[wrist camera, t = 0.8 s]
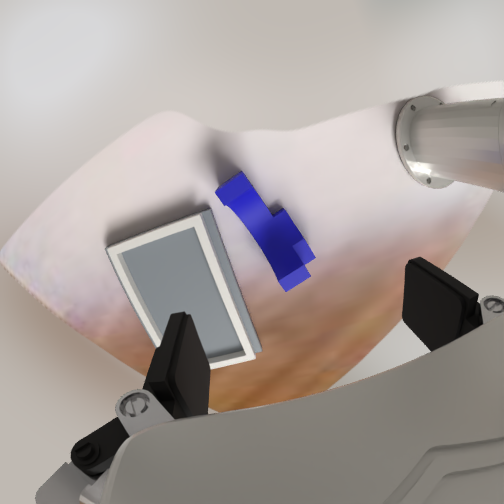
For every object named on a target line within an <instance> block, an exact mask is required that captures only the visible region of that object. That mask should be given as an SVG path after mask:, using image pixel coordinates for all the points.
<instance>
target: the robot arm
mask: <svg viewBox="0 0 504 504" xmlns="http://www.w3.org/2000/svg"><path fill="white" fill-rule="evenodd" d="M396 141H397V146H398V151H399V154H400V157H401V160H402V162H403V164H404V166H405V168H406V169H407V171H408V172H409V174H410V175H411V176H412V177H413V178H414V179H415V180H416V181H417V182H419V183H420V184H422V185H424V186H426V187H429V188H434V189H441V188H445V187H447V186H449V185H450V184H452V183H453V182H454V181H458V182H463V183H468V184H472V185H476V186H480V187H485V188H489V189H492V190H497V191H500V192H504V98H494V99H483V100H473V101H465V102H457V103H450V104H445V103H444V102H442V101H440V100H439V99H437V98H434V97H431V96H421V97H417V98H414V99H412V100H410V101H409V102H407V103H406V104H405V106H404V107H403V108H402V110H401V112H400V114H399V117H398V121H397V127H396ZM478 296H479V294H478V293H476V292H475V291H473V290H472V289H470V288H469V287H467V286H466V285H464V284H463V283H461V282H460V281H458V280H457V279H455V278H454V277H452V276H451V275H449V274H448V273H446V272H444V271H443V270H441V269H440V268H438V267H436V266H435V265H433V264H432V263H430V262H428V261H427V260H425V259H423V258H422V257H418V258H414V259H411V260H409V261H408V264H406V266H405V284H404V299H403V311H402V318H403V321H404V323H406V325H407V326H408V327H409V328H410V329H411V330H412V331H413V332H414V333H415V334H416V335H417V337H418V338H419V339H420V340H421V341H422V342H423V343H424V344H425V345H426V346H427V347H428V349H429V350H430V351H431V352H430V353H427V354H425V355H423V356H421V357H419V358H416V359H414V360H412V361H409V362H407V363H404V364H402V365H400V366H397V367H395V368H392V369H390V370H387V371H384V372H382V373H379V374H376V375H374V376H371V377H368V378H365V379H362V380H359V381H356V382H353V383H350V384H347V385H344V386H341V387H337V388H334V389H330V390H327V391H323V392H320V393H316V394H312V395H308V396H305V397H300V398H296V399H292V400H288V401H283V402H278V403H274V404H269V405H263V406H258V407H252V408H246V409H240V410H233V411H227V412H221V413H214V414H208V402H209V386H210V365H209V362H208V359H207V357H206V354H205V351H204V349H203V346H202V343H201V341H200V338H199V335H198V333H197V330H196V327H195V324H194V321H193V319H192V316H191V314H186V312H185V311H184V312H178V313H172V314H171V315H170V318H169V320H168V323H167V326H166V329H165V332H164V335H163V338H162V341H161V344H160V347H157V348H156V350H155V353H154V356H153V358H152V361H151V364H150V367H149V370H148V373H147V376H146V380H145V383H144V386H143V389H137V390H132V391H130V392H127V393H126V394H124V395H123V396H122V397H121V398H120V399H119V400H118V402H117V404H116V407H115V411H116V414H117V416H118V417H116V418H115V419H113V420H112V421H110V422H108V423H107V424H105V425H104V426H102V427H101V428H99V429H97V430H96V431H94V432H92V433H91V434H89V435H88V436H86V437H84V438H83V439H81V440H79V441H78V442H77V443H76V444H75V445H74V447H73V448H72V451H71V460H72V461H71V462H70V463H69V464H68V463H66V462H65V463H64V464H63V465H62V466H61V467H60V468H59V469H58V470H57V471H56V472H55V473H54V474H53V475H52V476H51V477H50V478H49V479H48V480H47V481H46V482H45V483H44V484H43V485H42V486H41V487H40V488H39V490H38V491H37V493H36V497H35V499H36V504H504V299H502V298H500V297H498V296H486V297H484V298H483V299H482V300H481V301H480V304H479V303H478V302H477V300H478Z"/></svg>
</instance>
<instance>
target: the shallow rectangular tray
mask: <svg viewBox="0 0 504 504" xmlns="http://www.w3.org/2000/svg"><path fill="white" fill-rule="evenodd" d="M105 251H106V253H107V255H108V257H109V260H110V262H111V264H112V266H113V268H114V271H115V273H116V275H117V277H118V279H119V281H120V283H121V285H122V287H123V289H124V291H125V293H126V295H127V297H128V299H129V301H130V303H131V305H132V307H133V309H134V311H135V312H136V314H137V316H138V318H139V320H140V322H141V323H142V325H143V327H144V329H145V330H146V332H147V334H148V336H149V337H150V339H151V341H152V342H153V344H154V346H155V347H156V348H157V347H160V344H161V341H162V338H163V335H164V332H165V329H166V326H167V323H168V320H169V318H170V315H171V314H172V313H178V312H184V311H185V312H186V314H191V316H192V319H193V321H194V324H195V327H196V330H197V333H198V335H199V338H200V341H201V343H202V346H203V349H204V351H205V354H206V357H207V359H208V362H209V365H210V369H214V368H219V367H223V366H228V365H232V364H236V363H241V362H245V361H249V360H253V359H256V355H255V353H257V352H261V351H262V346H261V343H260V341H259V338H258V335H257V333H256V330H255V328H254V325H253V322H252V320H251V317H250V314H249V312H248V309H247V307H246V304H245V301H244V298H243V296H242V293H241V290H240V288H239V285H238V282H237V280H236V277H235V274H234V271H233V269H232V266H231V263H230V260H229V258H228V255H227V252H226V249H225V247H224V244H223V241H222V238H221V235H220V232H219V230H218V227H217V224H216V221H215V218H214V215H213V213H212V210H211V208H209V209H207V210H204V211H201V212H198V213H195V214H192V215H189V216H186V217H183V218H181V219H178V220H175V221H172V222H169V223H167V224H164V225H161V226H158V227H156V228H153V229H150V230H148V231H145V232H142V233H140V234H137V235H135V236H132V237H130V238H127V239H124V240H122V241H119V242H117V243H114V244H112V245H109V246H107V247H106V248H105Z"/></svg>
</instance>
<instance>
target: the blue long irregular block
mask: <svg viewBox="0 0 504 504" xmlns="http://www.w3.org/2000/svg"><path fill="white" fill-rule="evenodd" d="M215 193H216V195H217V196H218V198H219V199H220V200H221V202H222V203H223V205H224V206H225V205H227V206H228V207H230V208H231V209H232V210H233V211H234V212H235V214H236V215H237V216H238V217H239V218H240V219H241V221H242V222H243V223H244V225H245V226H246V227H247V229H248V230H249V231H250V233H251V234H252V236H253V237H254V239H255V240H256V242H257V243H258V245H259V246H260V248H261V249H262V251H263V253H264V254H265V256H266V258H267V260H268V261H269V263H270V265H271V267H272V269H273V271H274V273H275V275H276V277H277V280H278V282H279V283H280V285H281V286H282V288H283V289H284V290H285V292H287V291H288V290H290V289H292V288H293V287H295V286H296V285H298V284H300V283H301V282H303V281H304V280H306V279H307V278H309V277H311V275H310V274H309V272H308V270H307V269H306V267H305V264H307V263H309V262H310V261H312V260H313V259H315V258H316V257H315V256H314V254H313V252H312V251H311V249H310V247H309V246H308V244H307V242H306V241H305V239H304V238H303V236H302V235H301V233H300V232H299V230H298V229H297V227H296V226H295V224H294V223H293V221H292V220H291V218H290V217H289V215H288V213H287V212H286V210H285V209H284V208H282V209H281V210H279V211H278V212H276V213H275V214H273V215H272V214H271V213H270V211H269V210H268V208H267V207H266V205H265V204H264V202H263V201H262V199H261V198H260V196H259V195H258V193H257V192H256V191H255V189H254V188H253V186H252V185H251V183H250V182H249V180H248V179H247V177H246V176H245V175H244V173H243V172H242V171H241V172H239V173H238V174H237V175H235V176H234V177H232V178H231V179H229V180H228V181H226V182H225V183H223V184H222V185H220V186H219V187H218V189H217V190H216V191H215Z"/></svg>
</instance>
